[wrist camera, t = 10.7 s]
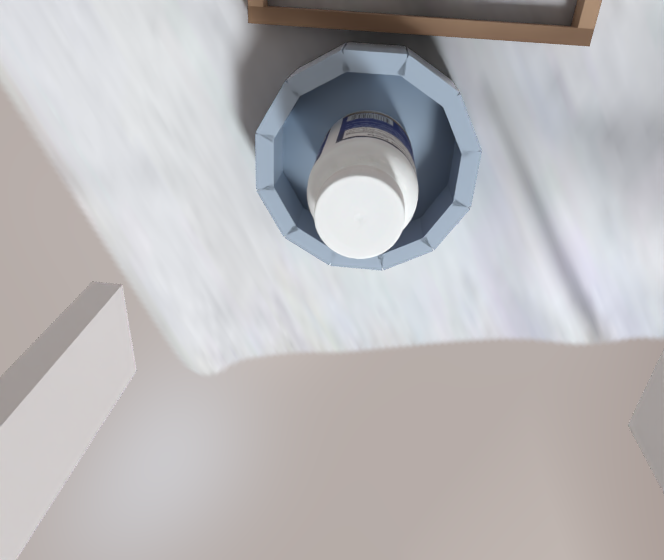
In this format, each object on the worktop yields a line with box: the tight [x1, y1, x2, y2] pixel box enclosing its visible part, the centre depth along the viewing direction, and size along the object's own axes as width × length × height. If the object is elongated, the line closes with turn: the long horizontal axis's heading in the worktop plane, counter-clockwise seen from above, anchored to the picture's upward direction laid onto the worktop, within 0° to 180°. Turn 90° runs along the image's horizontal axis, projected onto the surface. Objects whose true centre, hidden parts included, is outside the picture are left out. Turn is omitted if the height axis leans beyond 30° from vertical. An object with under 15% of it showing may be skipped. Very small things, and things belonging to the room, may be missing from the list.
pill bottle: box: [307, 110, 419, 259], centre depth 27 cm, size 5×5×10 cm
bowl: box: [255, 42, 482, 270], centre depth 30 cm, size 12×12×4 cm
